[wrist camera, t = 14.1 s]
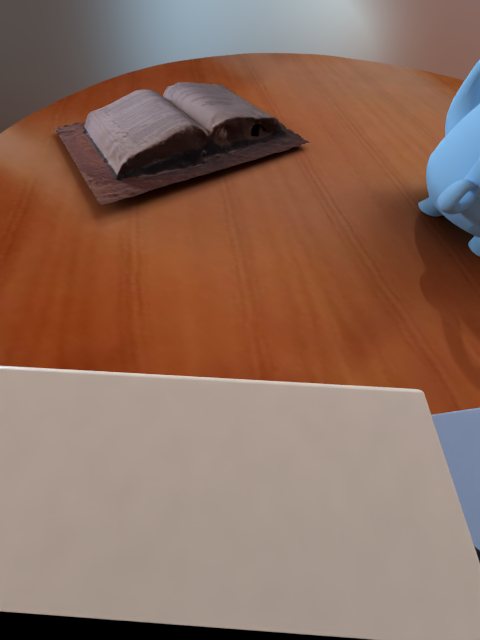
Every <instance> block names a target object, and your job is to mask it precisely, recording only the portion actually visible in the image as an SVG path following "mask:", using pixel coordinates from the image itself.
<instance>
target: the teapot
mask: <svg viewBox="0 0 480 640" xmlns="http://www.w3.org/2000/svg"><path fill="white" fill-rule="evenodd" d="M426 178H427V188H428V194H429V198H427V199H425V200H423V201H421V202H419V204H418V207H419V208H420V210H421V211H422V212H424V213H426V214H428V215H431V216H442V215H444V216H445V217H446V218H447V219H448V220H450V221H451V222H452V223H454V224H455V225H457V226H458V227H460V228H461V229H463V230H465V231H466V232H468V233H470V234H472V235H474V237H473V238H472V239H471V240H470V241H469V243H468V245H469V248H470V249H471V251H472V252H474V253H475V254H476V255H478V256H480V59H479V61H478V62H477V64H476V65H475V67H474V68H473V69H472V71H471V72H470V74H469V75H468V76H467V78H466V80H465V81H464V83H463V84H462V86H461V87H460V89H459V90H458V92H457V94H456V96H455V97H454V99H453V101H452V103H451V106H450V108H449V111H448V113H447V118H446V123H445V138H444V139H443V140H442V141H441V142H440V143H439V145H438V146H437V147H436V149H435V150H434V152H433V153H432V154H431V156H430V158H429V161H428V164H427V173H426Z"/></svg>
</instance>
